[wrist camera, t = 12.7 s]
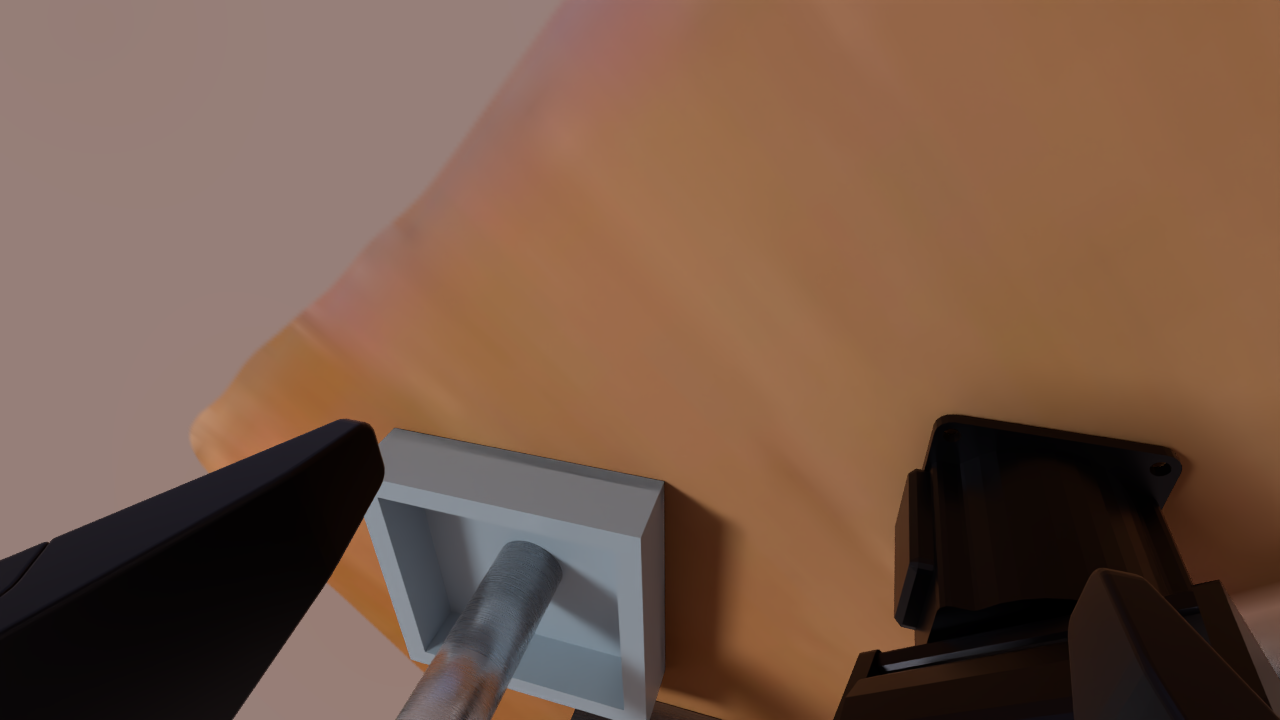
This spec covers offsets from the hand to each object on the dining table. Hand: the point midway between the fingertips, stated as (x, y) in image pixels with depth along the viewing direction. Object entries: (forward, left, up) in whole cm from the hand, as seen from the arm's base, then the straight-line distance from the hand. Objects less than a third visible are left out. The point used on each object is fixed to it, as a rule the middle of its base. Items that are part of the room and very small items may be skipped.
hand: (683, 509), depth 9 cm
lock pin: (+10, +18, -12) cm, 24 cm away
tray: (+10, +18, -13) cm, 24 cm away
